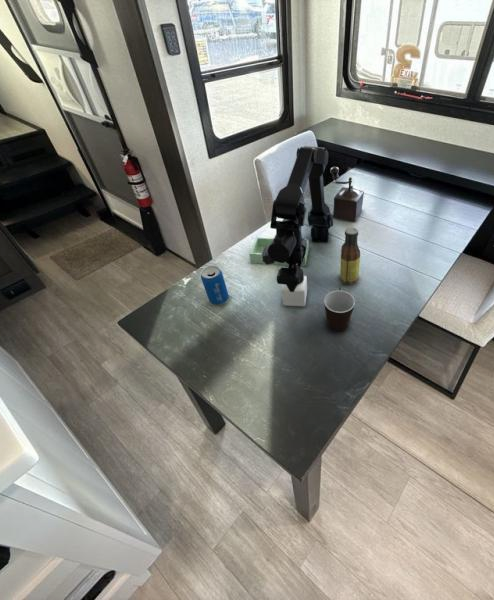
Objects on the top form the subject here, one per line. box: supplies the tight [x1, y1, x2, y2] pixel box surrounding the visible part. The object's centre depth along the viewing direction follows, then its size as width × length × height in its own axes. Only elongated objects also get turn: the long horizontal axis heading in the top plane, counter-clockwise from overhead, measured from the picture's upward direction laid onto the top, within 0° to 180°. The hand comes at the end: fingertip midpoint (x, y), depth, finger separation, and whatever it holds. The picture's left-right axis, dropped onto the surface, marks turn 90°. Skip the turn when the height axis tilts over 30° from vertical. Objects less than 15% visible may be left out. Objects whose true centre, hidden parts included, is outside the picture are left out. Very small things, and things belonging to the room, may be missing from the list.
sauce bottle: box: [339, 226, 361, 285], centre depth 101 cm, size 6×6×20 cm
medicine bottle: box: [281, 266, 308, 307], centre depth 98 cm, size 7×7×12 cm
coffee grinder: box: [329, 166, 365, 222], centre depth 132 cm, size 16×11×18 cm
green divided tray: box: [249, 236, 310, 267], centre depth 117 cm, size 11×20×4 cm, turn 83°
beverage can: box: [200, 265, 230, 306], centre depth 99 cm, size 6×6×12 cm
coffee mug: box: [323, 286, 356, 333], centre depth 92 cm, size 12×9×10 cm
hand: (294, 281), depth 97 cm, fingers open, 9 cm apart
